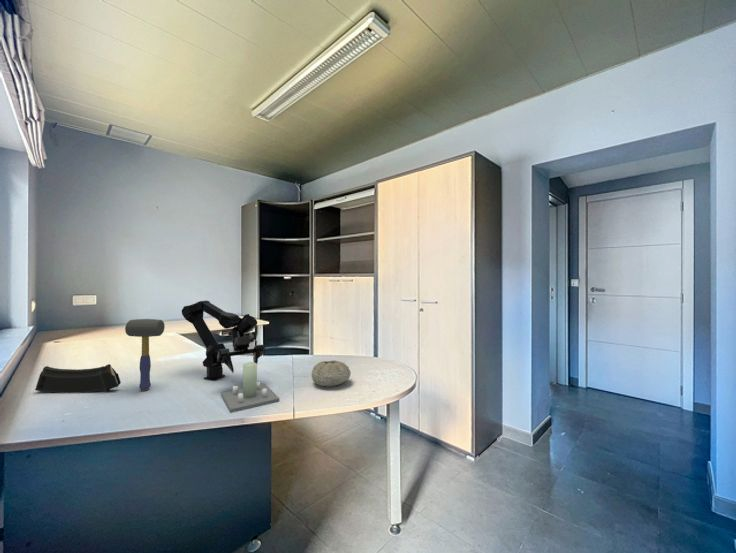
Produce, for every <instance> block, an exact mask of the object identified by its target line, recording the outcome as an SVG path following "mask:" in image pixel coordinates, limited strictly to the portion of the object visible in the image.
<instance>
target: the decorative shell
mask: <svg viewBox="0 0 736 553" xmlns="http://www.w3.org/2000/svg"><path fill="white" fill-rule="evenodd" d="M351 374H352V373H351V370H350V368H349V366H348V365H347V364H346V363H345V362H341V361H339V360H323V361H322V360H321V361H320V362H317V363H316V364H315V365H314V366H313V368H312V370H311V379H312V381H313V382H314V384H316V385H319V386H322V387H336V386H338V385H341V384H343V383H344V382H347V381H348V380H349V379H350V377H351Z"/></svg>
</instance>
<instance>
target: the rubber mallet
mask: <svg viewBox="0 0 736 553" xmlns="http://www.w3.org/2000/svg"><path fill="white" fill-rule="evenodd" d="M165 325H166V324H165V323H164V321H163V320H162V319H157V318H155V319H153V318H138V319H137V318H135V319H130V320H128V321H127V322H126V324H125V328H124V331H125V334H126V335H127V336H129V337H136V338H137V337H140V338H141V356H140V359H139V373H140V378H139V379H140V380H139V385H138V388H139V389H140V391H148V390H150V389H151V387H152V386H151V385H152V383H151V380H150V379H151V367H152V365H151V364H152V363H151V362H152V361H151V356H150V337H159V336H162V335H163V333H164V331H165Z"/></svg>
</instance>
